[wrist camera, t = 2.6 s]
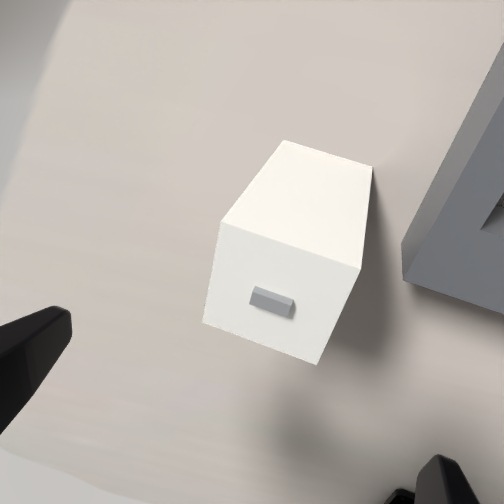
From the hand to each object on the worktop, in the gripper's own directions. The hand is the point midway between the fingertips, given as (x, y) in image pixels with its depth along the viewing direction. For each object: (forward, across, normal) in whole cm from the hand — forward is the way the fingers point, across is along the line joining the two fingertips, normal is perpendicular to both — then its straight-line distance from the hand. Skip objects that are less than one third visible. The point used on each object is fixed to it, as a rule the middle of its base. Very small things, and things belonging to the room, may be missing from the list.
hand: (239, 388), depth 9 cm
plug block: (+11, 0, 0) cm, 11 cm away
